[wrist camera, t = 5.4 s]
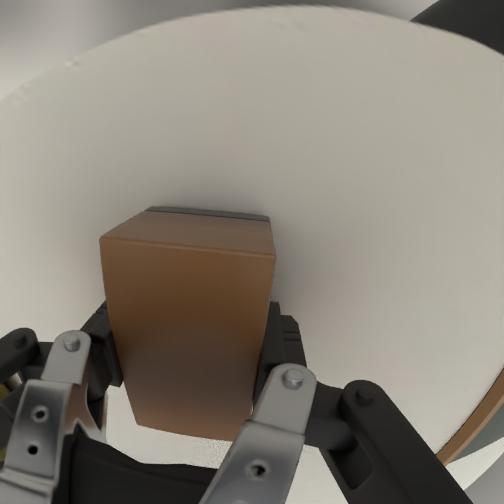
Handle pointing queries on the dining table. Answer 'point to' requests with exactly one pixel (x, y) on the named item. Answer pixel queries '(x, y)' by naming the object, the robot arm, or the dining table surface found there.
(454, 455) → the slate board
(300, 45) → the dining table surface
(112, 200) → the dining table surface
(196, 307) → the eraser
